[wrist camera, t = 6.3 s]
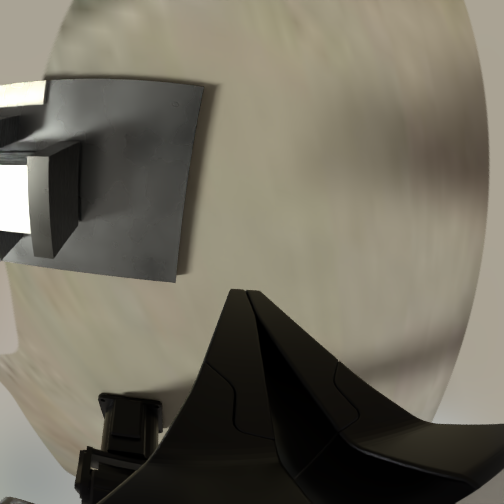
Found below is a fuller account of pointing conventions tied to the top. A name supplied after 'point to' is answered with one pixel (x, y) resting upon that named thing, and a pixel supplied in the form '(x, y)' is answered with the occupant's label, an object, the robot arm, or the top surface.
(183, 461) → the robot arm
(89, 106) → the grey tray
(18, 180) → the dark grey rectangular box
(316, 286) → the top surface
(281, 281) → the top surface
